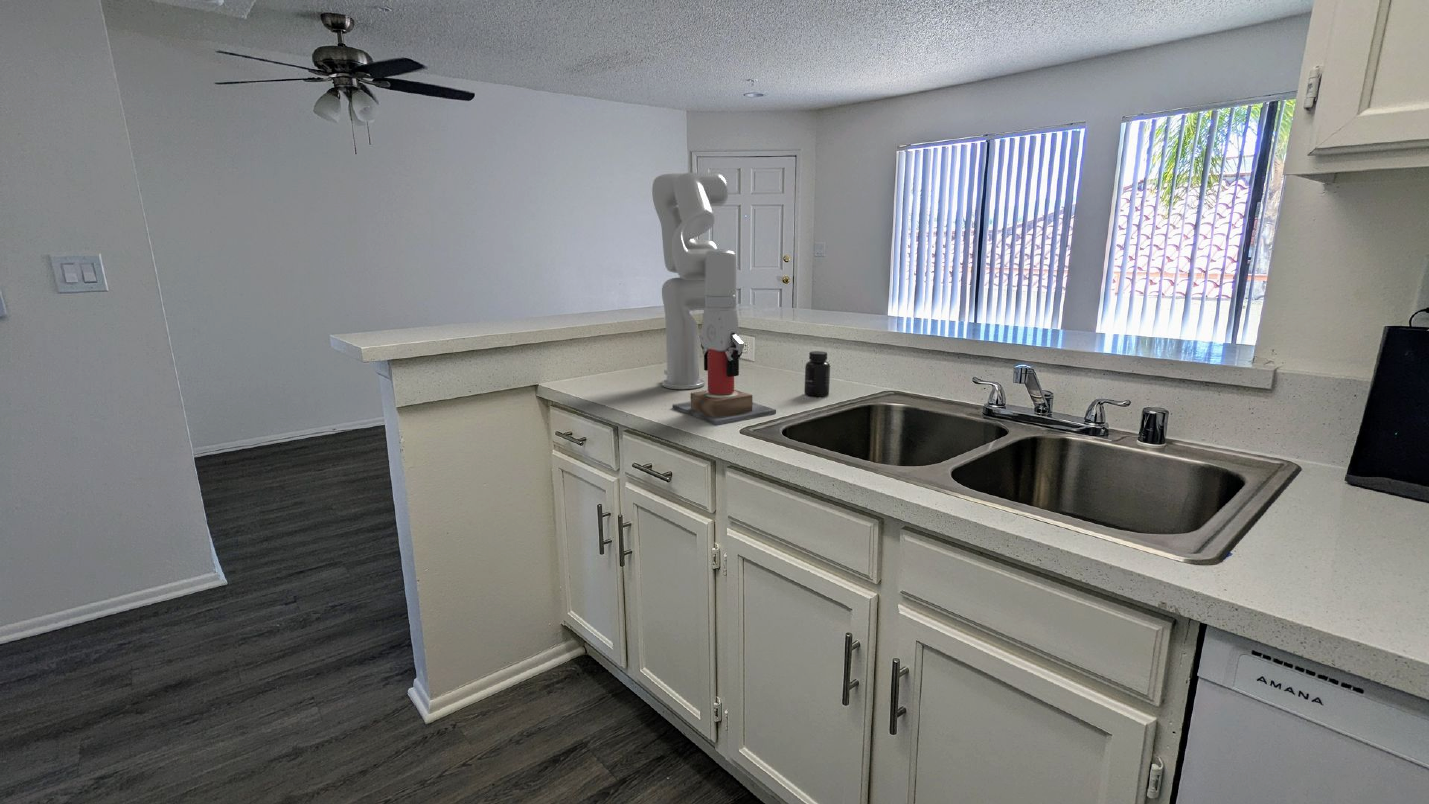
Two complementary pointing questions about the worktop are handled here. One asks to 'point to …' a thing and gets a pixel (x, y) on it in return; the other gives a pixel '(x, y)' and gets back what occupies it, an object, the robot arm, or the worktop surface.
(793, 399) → the worktop surface
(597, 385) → the worktop surface
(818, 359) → the supplement bottle
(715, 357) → the beer can
